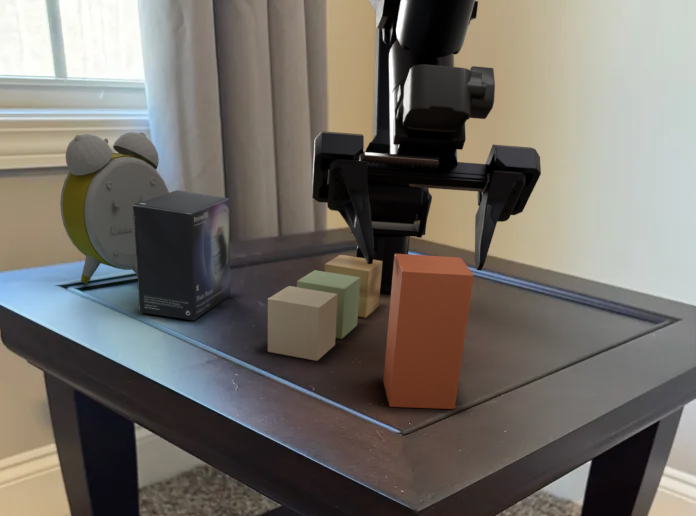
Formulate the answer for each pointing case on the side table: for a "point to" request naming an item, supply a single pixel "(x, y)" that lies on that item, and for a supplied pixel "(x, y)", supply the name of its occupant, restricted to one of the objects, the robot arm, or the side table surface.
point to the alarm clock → (107, 197)
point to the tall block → (426, 330)
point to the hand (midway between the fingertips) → (426, 264)
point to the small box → (182, 253)
